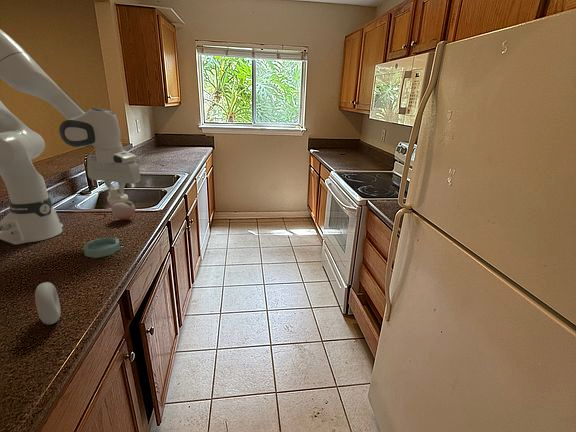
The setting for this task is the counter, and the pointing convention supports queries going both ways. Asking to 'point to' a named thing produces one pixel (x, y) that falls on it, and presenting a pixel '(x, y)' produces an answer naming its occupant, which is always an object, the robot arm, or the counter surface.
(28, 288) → the counter surface
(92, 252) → the studded octagonal holder
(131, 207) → the decorative fruit
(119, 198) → the cap
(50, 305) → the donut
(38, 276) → the counter surface
